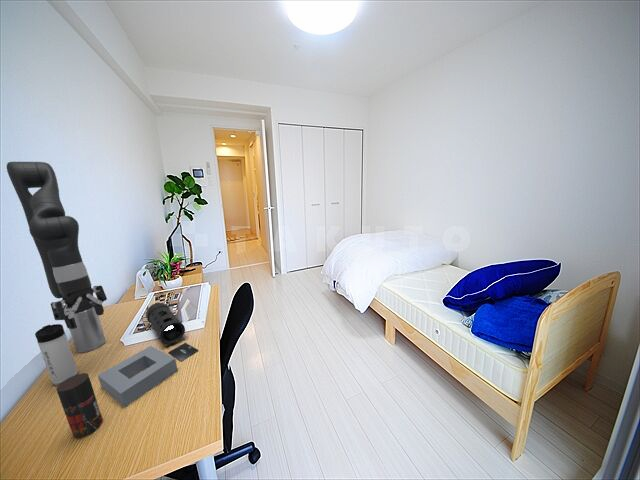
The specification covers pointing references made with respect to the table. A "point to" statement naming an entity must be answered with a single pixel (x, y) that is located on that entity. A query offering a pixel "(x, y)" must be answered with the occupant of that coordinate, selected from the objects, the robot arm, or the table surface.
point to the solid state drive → (183, 352)
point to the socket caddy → (131, 389)
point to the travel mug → (56, 353)
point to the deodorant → (80, 405)
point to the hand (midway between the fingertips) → (87, 321)
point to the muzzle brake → (165, 323)
